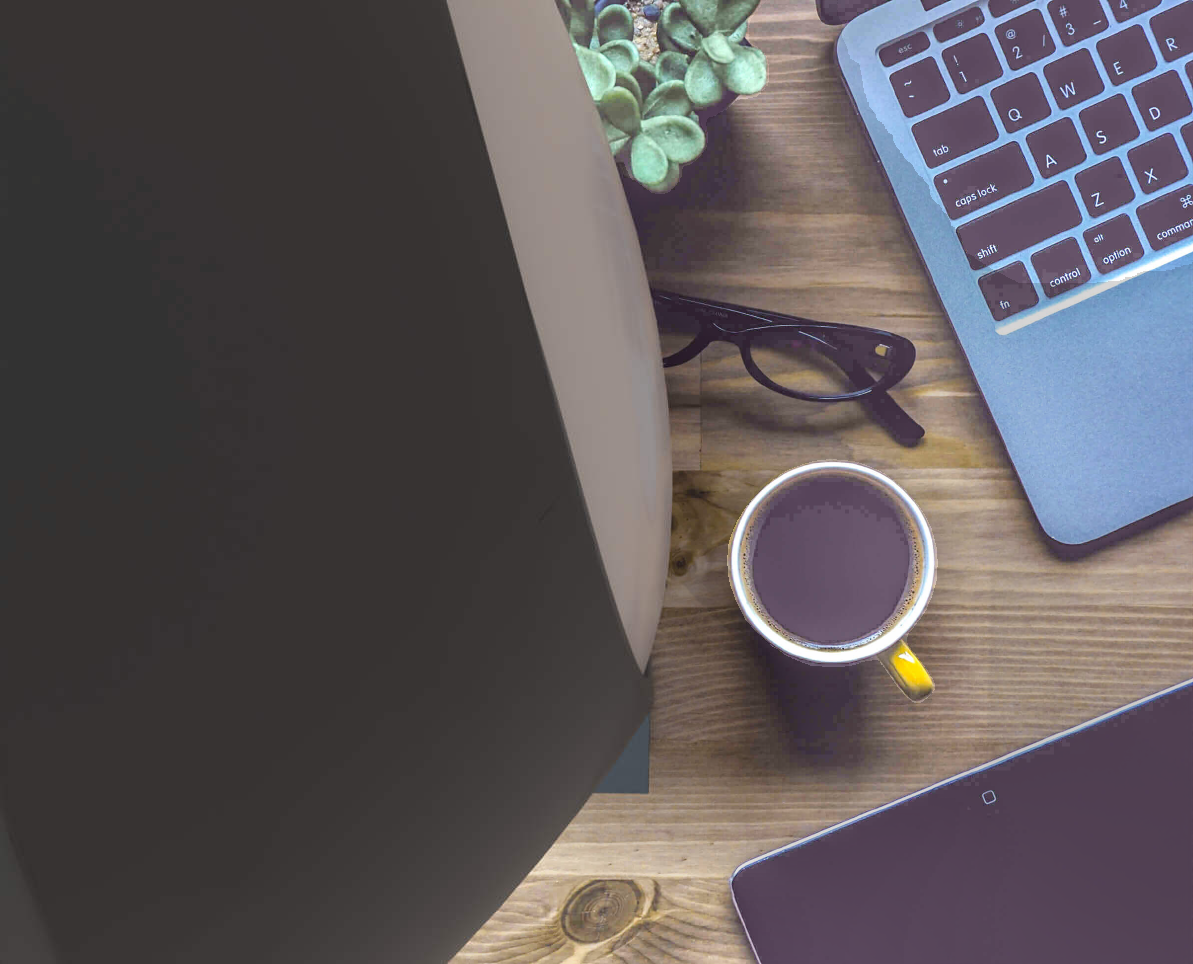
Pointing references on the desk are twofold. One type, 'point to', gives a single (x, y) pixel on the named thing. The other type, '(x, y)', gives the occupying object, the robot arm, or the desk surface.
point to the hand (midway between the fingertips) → (255, 754)
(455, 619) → the robot arm
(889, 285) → the desk surface
